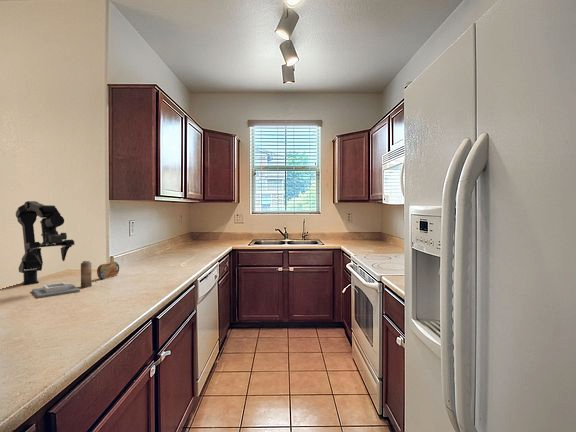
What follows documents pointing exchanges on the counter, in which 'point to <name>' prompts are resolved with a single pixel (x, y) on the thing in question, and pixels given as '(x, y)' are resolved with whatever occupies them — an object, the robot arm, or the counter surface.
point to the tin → (108, 270)
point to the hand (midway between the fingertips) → (52, 262)
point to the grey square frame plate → (55, 290)
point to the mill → (86, 274)
